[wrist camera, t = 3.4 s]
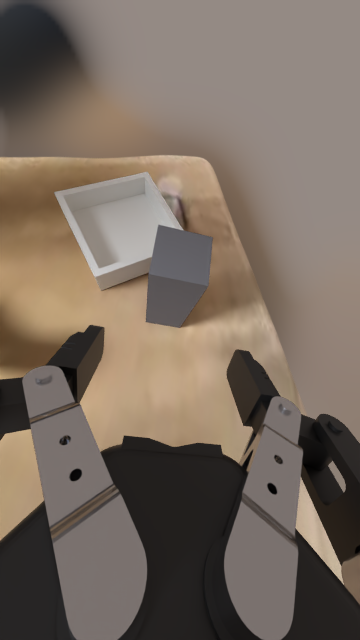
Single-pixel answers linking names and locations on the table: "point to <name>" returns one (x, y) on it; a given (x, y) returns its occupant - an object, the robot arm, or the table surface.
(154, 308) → the handle block
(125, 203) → the tray
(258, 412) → the robot arm
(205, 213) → the table surface
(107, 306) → the table surface
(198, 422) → the table surface
